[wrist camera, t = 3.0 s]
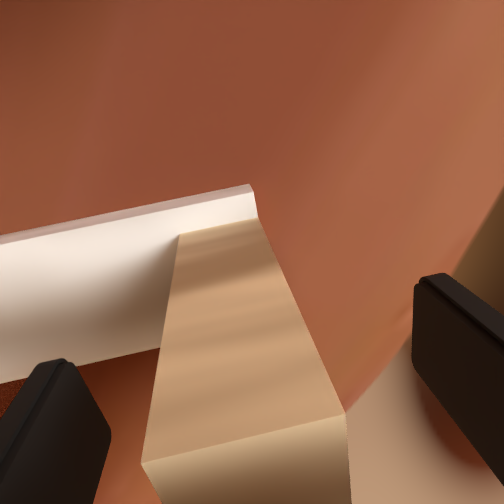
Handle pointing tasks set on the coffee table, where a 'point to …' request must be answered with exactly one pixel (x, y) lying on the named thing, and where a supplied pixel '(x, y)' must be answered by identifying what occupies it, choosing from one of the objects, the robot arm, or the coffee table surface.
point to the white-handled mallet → (186, 344)
